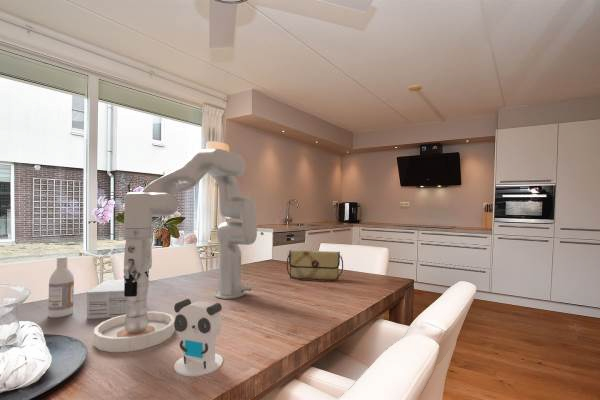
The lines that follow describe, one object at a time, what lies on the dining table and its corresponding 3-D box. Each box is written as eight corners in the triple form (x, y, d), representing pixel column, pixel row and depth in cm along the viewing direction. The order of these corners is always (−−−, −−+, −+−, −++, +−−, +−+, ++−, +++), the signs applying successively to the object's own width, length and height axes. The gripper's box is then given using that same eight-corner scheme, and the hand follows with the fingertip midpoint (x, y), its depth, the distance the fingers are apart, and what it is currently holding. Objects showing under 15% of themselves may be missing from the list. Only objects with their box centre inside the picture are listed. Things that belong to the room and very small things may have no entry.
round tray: (181, 321, 106) (181, 310, 106) (163, 349, 85) (163, 336, 85) (113, 323, 103) (114, 312, 103) (78, 353, 82) (78, 340, 82)
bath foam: (70, 316, 109) (72, 258, 109) (45, 319, 106) (47, 259, 106) (74, 310, 115) (76, 255, 116) (51, 312, 112) (52, 256, 112)
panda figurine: (161, 369, 75) (162, 306, 75) (193, 349, 86) (194, 293, 86) (203, 380, 71) (204, 313, 71) (231, 357, 82) (232, 299, 82)
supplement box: (104, 304, 123) (104, 279, 124) (141, 302, 126) (141, 278, 127) (85, 319, 107) (86, 291, 107) (128, 316, 110) (128, 289, 110)
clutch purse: (285, 280, 165) (285, 251, 165) (287, 277, 172) (287, 249, 172) (343, 282, 162) (343, 253, 162) (342, 279, 169) (343, 251, 169)
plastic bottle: (123, 337, 90) (124, 266, 90) (124, 329, 96) (125, 262, 96) (148, 333, 93) (149, 264, 93) (148, 325, 99) (149, 261, 99)
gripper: (141, 236, 87) (139, 299, 86) (160, 231, 104) (159, 284, 104) (111, 236, 86) (110, 300, 85) (135, 231, 103) (134, 284, 102)
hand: (136, 291), depth 94 cm, fingers open, 9 cm apart
